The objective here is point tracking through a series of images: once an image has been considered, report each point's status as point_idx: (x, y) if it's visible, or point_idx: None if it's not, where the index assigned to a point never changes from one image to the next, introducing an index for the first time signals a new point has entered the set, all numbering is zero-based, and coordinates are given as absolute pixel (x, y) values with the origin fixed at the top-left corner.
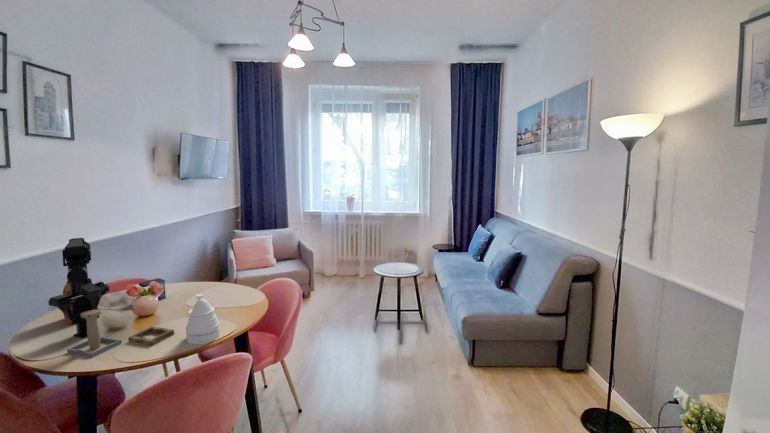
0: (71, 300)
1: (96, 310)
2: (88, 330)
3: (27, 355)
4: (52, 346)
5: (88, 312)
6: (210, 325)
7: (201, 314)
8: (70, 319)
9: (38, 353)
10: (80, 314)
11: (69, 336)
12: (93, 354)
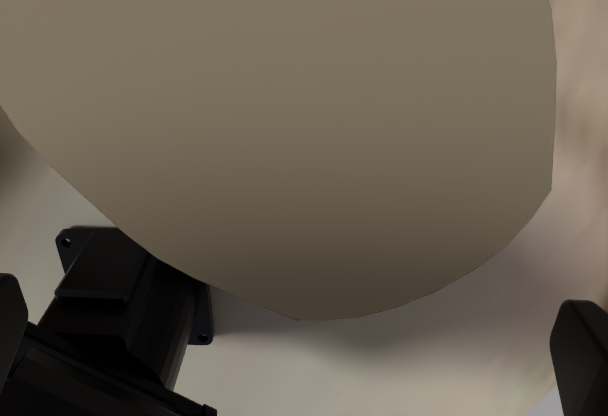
0: None
1: (64, 22)
2: None
3: (547, 343)
4: (390, 319)
5: (317, 133)
6: None
7: None
8: (597, 307)
9: (509, 307)
10: (510, 232)
11: (225, 354)
12: None
